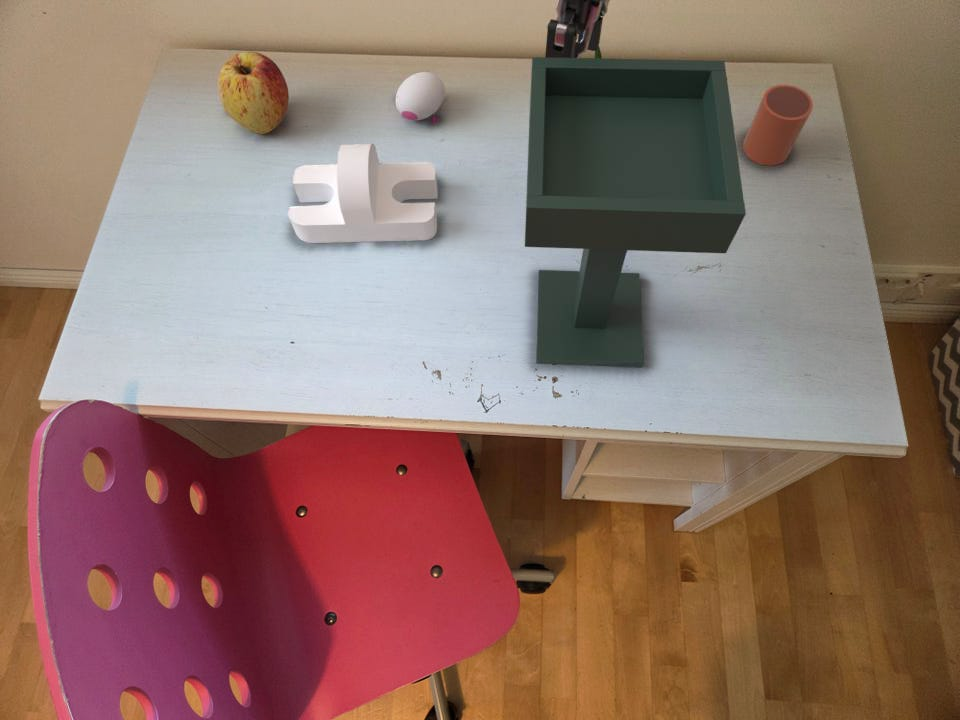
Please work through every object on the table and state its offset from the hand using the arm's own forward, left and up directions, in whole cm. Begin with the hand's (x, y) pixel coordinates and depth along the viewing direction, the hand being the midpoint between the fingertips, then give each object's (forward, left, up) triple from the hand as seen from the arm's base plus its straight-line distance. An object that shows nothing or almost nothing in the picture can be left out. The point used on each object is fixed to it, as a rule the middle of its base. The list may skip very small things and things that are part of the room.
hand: (574, 73), depth 73 cm
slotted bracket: (+25, -5, -19) cm, 32 cm away
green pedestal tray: (+4, +19, -19) cm, 27 cm away
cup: (-28, +2, -19) cm, 34 cm away
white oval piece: (+14, -20, -19) cm, 31 cm away
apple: (+35, -25, -19) cm, 47 cm away
